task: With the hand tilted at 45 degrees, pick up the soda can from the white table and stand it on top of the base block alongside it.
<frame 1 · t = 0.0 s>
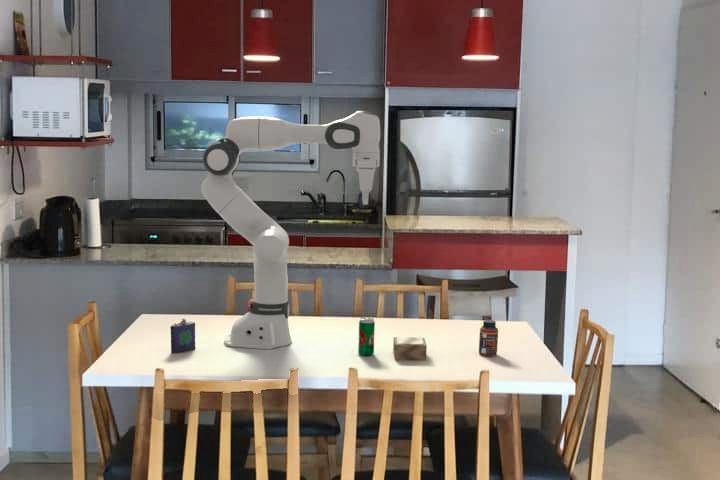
hand: (365, 202, 307), 48 cm above the table, tool pointing down, fingers open, 8 cm apart
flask: (183, 351, 300), on the table
base block: (409, 356, 300), on the table
soda can: (366, 355, 301), on the table
supplement bottle: (487, 355, 305), on the table
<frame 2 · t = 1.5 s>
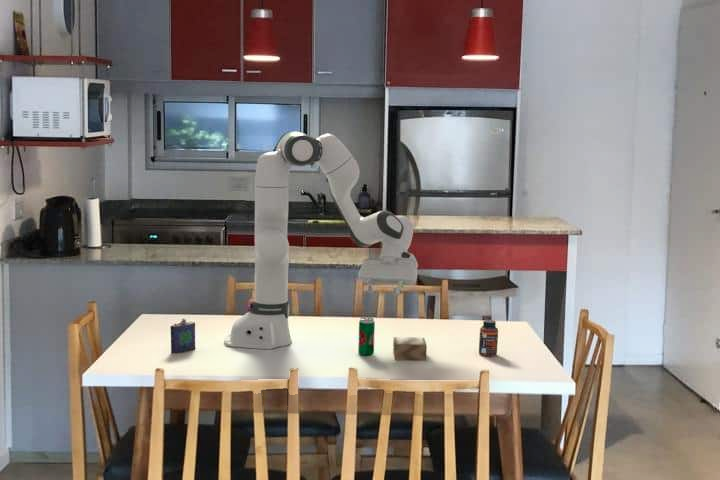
hand: (382, 292, 310), 18 cm above the table, tool tilted 45°, fingers open, 8 cm apart
nothing on the table moved.
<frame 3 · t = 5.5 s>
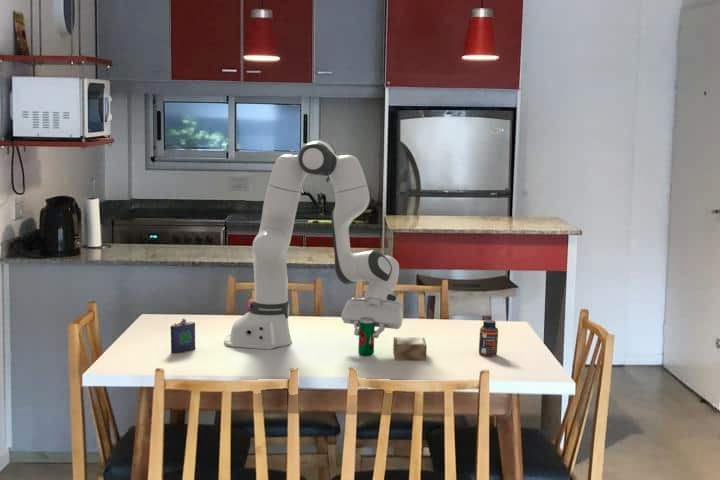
hand: (365, 335, 299), 6 cm above the table, tool tilted 45°, fingers closed on soda can, 5 cm apart
soda can: (366, 355, 301), on the table, touching gripper
everything else where it was.
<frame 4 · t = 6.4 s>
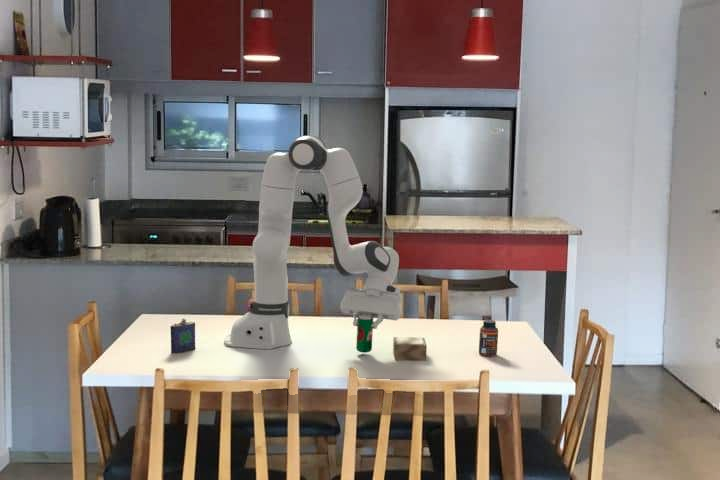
hand: (364, 326, 299), 9 cm above the table, tool tilted 45°, fingers closed on soda can, 5 cm apart
soda can: (363, 351, 301), point 1 cm above the table, touching gripper
everything else where it was.
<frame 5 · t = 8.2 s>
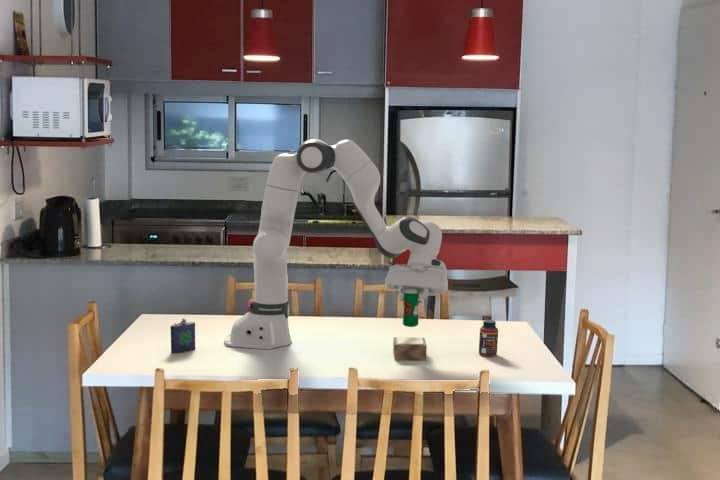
hand: (410, 300, 297), 18 cm above the table, tool tilted 45°, fingers closed on soda can, 5 cm apart
soda can: (410, 326, 299), point 10 cm above the table, touching gripper
everything else where it was.
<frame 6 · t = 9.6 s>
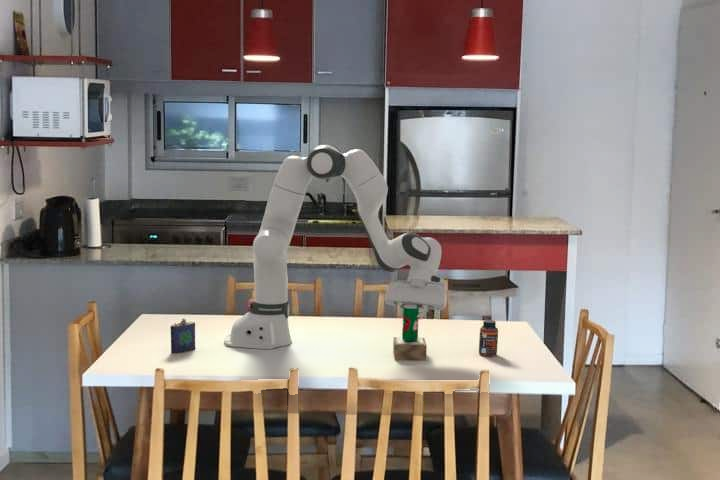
hand: (410, 317, 298), 13 cm above the table, tool tilted 45°, fingers closed on soda can, 5 cm apart
soda can: (409, 341, 299), point 5 cm above the table, touching base block, gripper
everything else where it was.
when the fingers open (13 cm above the table, at t = 9.8 s): soda can stays where it is, resting on base block.
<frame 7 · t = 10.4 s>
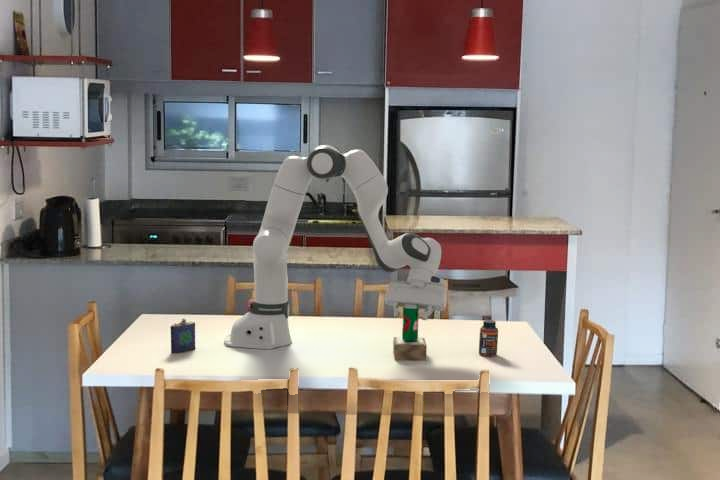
hand: (410, 317, 298), 13 cm above the table, tool tilted 45°, fingers open, 8 cm apart
soda can: (409, 341, 299), point 5 cm above the table, touching base block
everything else where it was.
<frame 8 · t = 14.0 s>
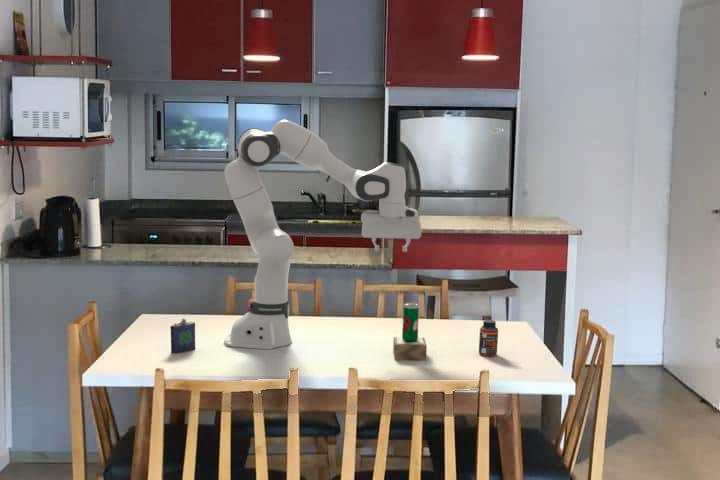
hand: (390, 251, 315), 31 cm above the table, tool pointing down, fingers open, 8 cm apart
nothing on the table moved.
at the end: soda can inside the target area on the base block (0.1 cm from its centre), point 5.1 cm above the base block's base; soda can tilted 0°; the gripper is holding nothing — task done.
